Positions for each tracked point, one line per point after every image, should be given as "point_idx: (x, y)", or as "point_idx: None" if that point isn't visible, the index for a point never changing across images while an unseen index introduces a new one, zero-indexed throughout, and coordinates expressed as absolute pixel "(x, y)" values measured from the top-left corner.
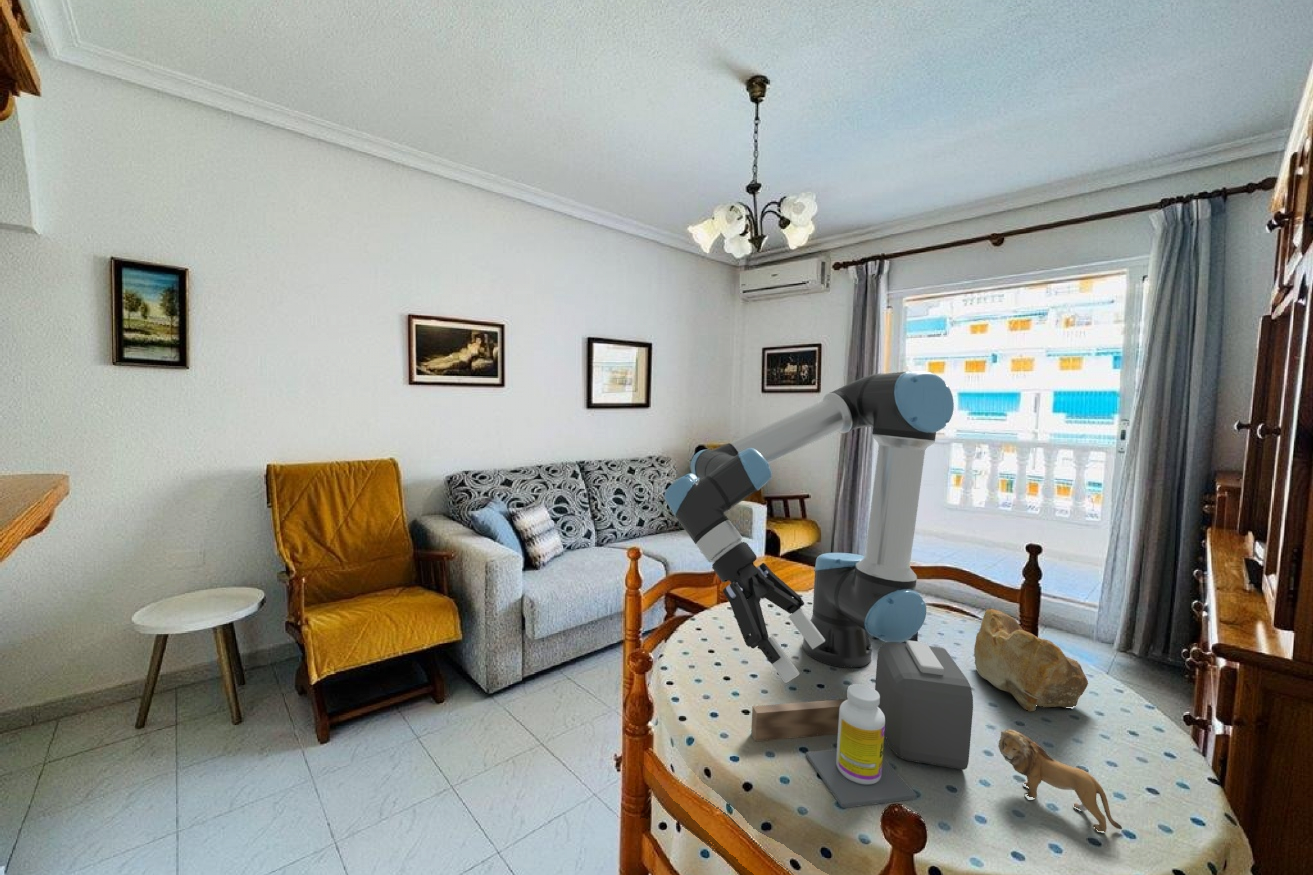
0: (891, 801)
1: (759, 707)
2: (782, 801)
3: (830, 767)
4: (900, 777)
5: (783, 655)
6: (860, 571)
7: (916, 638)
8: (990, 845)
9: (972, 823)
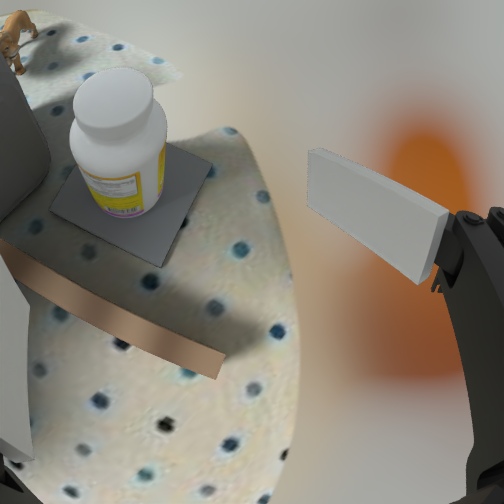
0: None
1: (204, 368)
2: (276, 223)
3: (158, 216)
4: None
5: (378, 175)
6: None
7: None
8: (123, 60)
9: None
